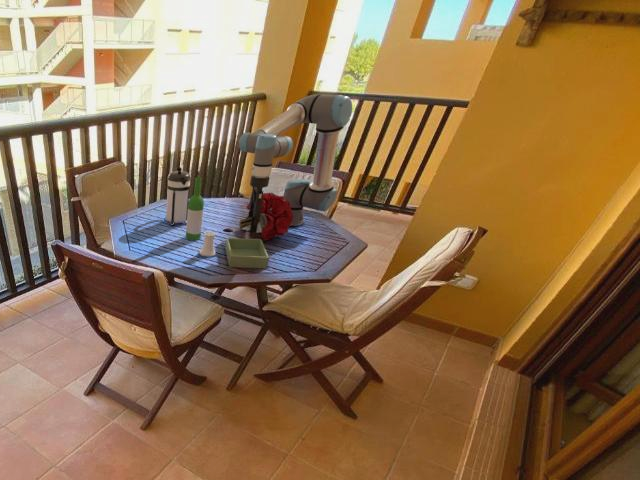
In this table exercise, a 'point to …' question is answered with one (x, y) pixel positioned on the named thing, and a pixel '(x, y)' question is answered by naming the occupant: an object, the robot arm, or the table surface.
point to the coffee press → (177, 196)
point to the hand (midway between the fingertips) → (251, 228)
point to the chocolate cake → (261, 224)
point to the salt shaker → (208, 245)
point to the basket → (246, 253)
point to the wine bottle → (195, 213)
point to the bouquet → (275, 216)
